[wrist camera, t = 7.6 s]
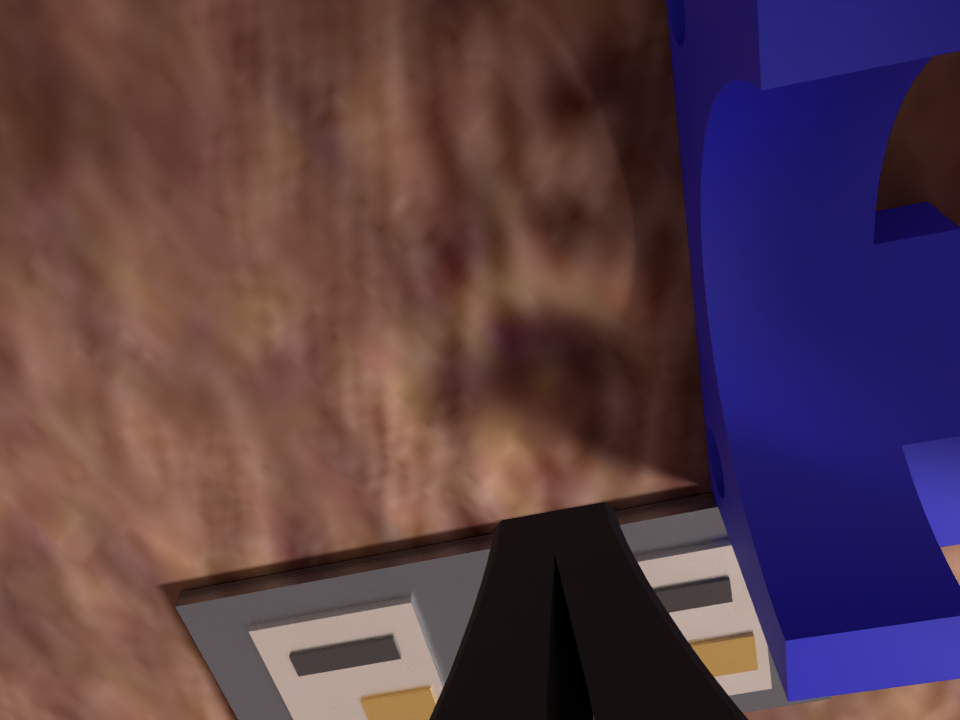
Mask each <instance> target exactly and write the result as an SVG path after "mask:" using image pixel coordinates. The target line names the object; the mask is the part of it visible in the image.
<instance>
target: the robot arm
mask: <svg viewBox="0 0 960 720" xmlns="http://www.w3.org/2000/svg"><path fill="white" fill-rule="evenodd" d="M593 716H594V718H593ZM429 720H748V719H747V718H746V716H745V715H744V714H743V713H742V712H741V710H740V709H739V708H738V707H737V705H736V704H735V703H734V702H733V700H732V699H731V698H730V697H729V695H728V694H727V693H726V692H725V690H724V689H723V688H722V686H721V685H720V684H719V683H718V681H717V680H716V679H715V677H714V676H713V675H712V674H711V672H710V671H709V670H708V668H707V667H706V666H705V664H704V663H703V662H702V660H701V659H700V658H699V656H698V655H697V654H696V652H695V651H694V649H693V648H692V647H691V645H690V644H689V643H688V641H687V640H686V638H685V637H684V635H683V634H682V632H681V631H680V629H679V628H678V626H677V625H676V623H675V622H674V620H673V619H672V617H671V616H670V614H669V613H668V611H667V610H666V608H665V607H664V605H663V604H662V603H661V601H660V599H659V598H658V596H657V595H656V593H655V591H654V590H653V588H652V587H651V585H650V583H649V582H648V580H647V578H646V576H645V575H644V573H643V571H642V569H641V567H640V566H639V564H638V562H637V560H636V559H635V557H634V555H633V553H632V551H631V549H630V547H629V545H628V543H627V541H626V538H625V536H624V534H623V532H622V529H621V527H620V524H619V522H618V519H617V516H616V512H615V509H614V508H613V507H611V506H609V505H607V504H606V503H604V502H603V503H597V504H591V505H586V506H580V507H574V508H569V509H563V510H557V511H552V512H546V513H540V514H535V515H529V516H524V517H518V518H512V519H507V520H501V522H500V523H499V524H498V525H497V527H496V528H495V529H494V533H493V538H492V543H491V548H490V552H489V556H488V560H487V564H486V568H485V571H484V575H483V578H482V582H481V585H480V588H479V592H478V595H477V598H476V601H475V604H474V607H473V610H472V613H471V616H470V619H469V622H468V624H467V627H466V630H465V633H464V635H463V638H462V641H461V644H460V646H459V649H458V652H457V654H456V657H455V660H454V663H453V665H452V668H451V670H450V673H449V675H448V678H447V680H446V682H445V685H444V687H443V689H442V691H441V694H440V696H439V698H438V701H437V703H436V705H435V707H434V710H433V712H432V714H431V717H430V719H429Z"/></svg>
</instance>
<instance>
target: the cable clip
mask: <svg viewBox="0 0 960 720" xmlns="http://www.w3.org/2000/svg"><path fill="white" fill-rule="evenodd" d="M666 3H667V14H668V25H669V36H670V47H671V58H672V68H673V79H674V90H675V101H676V112H677V123H678V134H679V145H680V156H681V167H682V178H683V189H684V200H685V211H686V222H687V232H688V243H689V254H690V265H691V276H692V287H693V298H694V309H695V320H696V331H697V342H698V353H699V364H700V375H701V386H702V396H703V407H704V418H705V429H706V440H707V451H708V462H709V473H710V484H711V489H712V492H713V495H714V498H715V500H716V503H717V506H718V509H719V511H720V514H721V517H722V520H723V523H724V525H725V528H726V531H727V534H728V537H729V539H730V542H731V545H732V548H733V550H734V553H735V556H736V559H737V562H738V564H739V567H740V570H741V573H742V575H743V578H744V581H745V584H746V587H747V589H748V592H749V595H750V598H751V600H752V603H753V606H754V609H755V612H756V614H757V617H758V620H759V623H760V625H761V628H762V631H763V634H764V637H765V639H766V642H767V645H768V648H769V650H770V653H771V656H772V659H773V662H774V664H775V667H776V670H777V673H778V675H779V678H780V681H781V684H782V687H783V689H784V692H785V695H786V698H787V700H788V702H790V701H797V700H805V699H812V698H819V697H827V696H834V695H841V694H849V693H856V692H863V691H871V690H878V689H885V688H893V687H900V686H907V685H915V684H922V683H929V682H936V681H944V680H951V679H958V678H960V586H959V584H958V582H957V580H956V578H955V576H954V574H953V573H952V571H951V569H950V567H949V565H948V563H947V561H946V559H945V557H944V555H943V553H942V550H941V548H940V547H944V546H951V545H957V544H960V228H959V227H958V226H957V225H956V224H954V223H953V222H952V221H951V220H950V219H948V218H947V217H946V216H945V215H944V214H942V213H941V212H940V211H939V210H938V209H936V208H935V207H934V206H933V205H931V204H930V203H929V202H923V203H918V204H912V205H907V206H902V207H896V208H891V209H885V210H880V211H876V202H877V194H878V186H879V180H880V174H881V169H882V163H883V159H884V155H885V151H886V147H887V143H888V139H889V136H890V133H891V130H892V127H893V124H894V121H895V118H896V115H897V113H898V111H899V108H900V106H901V104H902V102H903V99H904V97H905V95H906V94H907V92H908V90H909V88H910V87H911V85H912V83H913V81H914V80H915V78H916V77H917V76H918V74H919V73H920V71H921V70H922V69H923V67H924V66H925V65H926V64H927V63H928V62H929V61H930V60H931V59H932V58H933V57H934V56H937V55H942V54H947V53H952V52H957V51H960V0H666Z"/></svg>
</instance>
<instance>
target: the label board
mask: <svg viewBox="0 0 960 720" xmlns="http://www.w3.org/2000/svg"><path fill="white" fill-rule="evenodd" d="M615 512H616V516H617V519H618V522H619V524H620V527H621V529H622V532H623V534H624V536H625V538H626V541H627V543H628V545H629V547H630V549H631V551H632V553H633V555H634V557H635V559H636V560H637V562H638V564H639V566H640V567H641V569H642V571H643V573H644V575H645V576H646V578H647V580H648V582H649V583H650V585H651V587H652V588H653V590H654V591H655V593H656V595H657V596H658V598H659V599H660V601H661V603H662V604H663V605H664V607H665V608H666V610H667V611H668V613H669V614H670V616H671V617H672V619H673V620H674V622H675V623H676V625H677V626H678V628H679V629H680V631H681V632H682V634H683V635H684V637H685V638H686V640H687V641H688V643H689V644H690V645H691V647H692V648H693V649H694V651H695V652H696V654H697V655H698V656H699V658H700V659H701V660H702V662H703V663H704V664H705V666H706V667H707V668H708V670H709V671H710V672H711V674H712V675H713V676H714V677H715V679H716V680H717V681H718V683H719V684H720V685H721V686H722V688H723V689H724V690H725V692H726V693H727V694H728V695H729V697H730V698H731V699H732V700H733V702H734V703H735V704H736V705H737V707H738V708H739V709H740V710H741V712H742V713H744V712H750V711H756V710H763V709H769V708H775V707H781V706H788V705H794V704H800V703H806V702H813V701H819V700H825V699H831V696H827V697H819V698H812V699H805V700H797V701H790V702H788V700H787V698H786V695H785V692H784V689H783V687H782V684H781V681H780V678H779V675H778V673H777V670H776V667H775V664H774V662H773V659H772V656H771V653H770V650H769V648H768V645H767V642H766V639H765V637H764V634H763V631H762V628H761V625H760V623H759V620H758V617H757V614H756V612H755V609H754V606H753V603H752V600H751V598H750V595H749V592H748V589H747V587H746V584H745V581H744V578H743V575H742V573H741V570H740V567H739V564H738V562H737V559H736V556H735V553H734V550H733V548H732V545H731V542H730V539H729V537H728V534H727V531H726V528H725V525H724V523H723V520H722V517H721V514H720V511H719V509H718V506H717V503H716V500H715V498H714V495H713V493H708V494H703V495H698V496H692V497H687V498H682V499H676V500H671V501H665V502H660V503H655V504H649V505H644V506H638V507H633V508H628V509H622V510H617V511H615ZM492 538H493V534H488V535H482V536H477V537H472V538H466V539H461V540H455V541H450V542H445V543H439V544H434V545H428V546H423V547H418V548H412V549H407V550H402V551H396V552H391V553H385V554H380V555H375V556H369V557H364V558H358V559H353V560H348V561H342V562H337V563H332V564H326V565H321V566H315V567H310V568H305V569H299V570H294V571H288V572H283V573H278V574H272V575H267V576H262V577H256V578H251V579H245V580H240V581H235V582H229V583H224V584H218V585H213V586H208V587H202V588H197V589H192V590H186V591H181V593H180V595H179V598H178V601H177V603H176V606H175V607H176V609H177V611H178V613H179V614H180V616H181V618H182V620H183V622H184V623H185V625H186V627H187V629H188V631H189V632H190V634H191V636H192V638H193V640H194V641H195V643H196V645H197V647H198V649H199V650H200V652H201V654H202V656H203V658H204V659H205V661H206V663H207V665H208V667H209V668H210V670H211V672H212V674H213V676H214V677H215V679H216V681H217V683H218V685H219V686H220V688H221V690H222V692H223V693H224V695H225V697H226V699H227V701H228V702H229V704H230V706H231V708H232V710H233V711H234V713H235V715H236V717H237V719H238V720H429V719H430V717H431V714H432V712H433V710H434V707H435V705H436V703H437V701H438V698H439V696H440V694H441V691H442V689H443V687H444V685H445V682H446V680H447V678H448V675H449V673H450V670H451V668H452V665H453V663H454V660H455V657H456V654H457V652H458V649H459V646H460V644H461V641H462V638H463V635H464V633H465V630H466V627H467V624H468V622H469V619H470V616H471V613H472V610H473V607H474V604H475V601H476V598H477V595H478V592H479V588H480V585H481V582H482V578H483V575H484V571H485V568H486V564H487V560H488V556H489V552H490V548H491V543H492ZM593 718H594V716H593Z"/></svg>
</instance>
